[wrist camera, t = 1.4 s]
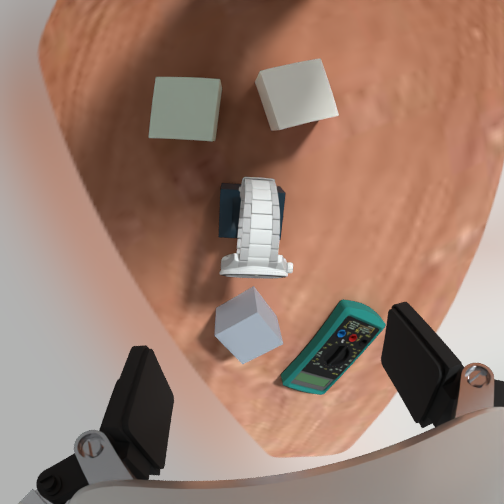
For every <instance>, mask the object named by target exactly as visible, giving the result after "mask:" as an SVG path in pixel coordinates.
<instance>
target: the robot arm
mask: <svg viewBox="0 0 504 504" xmlns="http://www.w3.org/2000/svg"><path fill="white" fill-rule="evenodd" d="M381 362H382V365H383V367H384V369H385V371H386V372H387V374H388V376H389V377H390V379H391V381H392V383H393V384H394V386H395V388H396V389H397V391H398V393H399V394H400V396H401V398H402V400H403V401H404V403H405V405H406V407H407V408H408V410H409V412H410V414H411V416H412V417H413V419H414V421H415V422H416V423H419V424H420V425H421V427H422V428H424V427H426V426H428V425H430V424H432V423H433V425H434V426H435V428H433V429H431V430H428V431H426V432H424V433H421V434H419V435H417V436H414V437H412V438H409V439H407V440H404V441H402V442H400V443H397V444H394V445H391V446H389V447H386V448H383V449H380V450H377V451H374V452H371V453H368V454H365V455H362V456H359V457H355V458H352V459H348V460H345V461H341V462H337V463H333V464H329V465H326V466H321V467H317V468H312V469H307V470H302V471H297V472H292V473H285V474H279V475H272V476H265V477H256V478H247V479H236V480H219V481H160V480H148V479H149V475H160V469H163V468H164V466H165V458H166V451H167V444H168V437H169V430H170V423H171V416H172V409H173V403H174V396H173V393H172V391H171V389H170V387H169V385H168V382H167V380H166V378H165V376H164V374H163V372H162V370H161V367H160V365H159V363H158V361H157V358H156V356H155V354H154V351H153V350H152V349H149V348H148V347H147V346H133V347H132V348H131V350H130V353H129V355H128V358H127V361H126V363H125V366H124V368H123V371H122V373H121V376H120V379H119V380H117V382H116V384H115V387H114V390H113V393H112V395H111V398H110V401H109V404H108V407H107V410H106V412H105V415H104V418H103V421H102V424H101V427H100V430H99V431H97V430H89V431H87V432H84V433H82V434H81V435H80V436H79V437H78V438H77V439H76V441H75V444H74V452H75V453H74V454H73V455H71V456H69V457H68V458H66V459H64V460H62V461H61V462H59V463H57V464H55V465H53V466H52V467H50V468H48V469H46V470H44V471H43V472H42V473H41V474H40V475H39V477H38V479H37V490H36V491H35V490H33V489H32V490H31V491H30V492H29V493H28V494H27V495H26V496H25V497H24V498H23V499H22V500H21V501H20V502H19V504H504V381H499V380H494V374H493V372H492V371H491V369H490V368H489V367H487V366H486V365H484V364H481V363H471V364H469V365H467V366H465V368H464V366H463V365H462V363H461V361H460V360H459V359H458V358H457V357H456V356H455V354H454V353H453V352H452V351H451V350H450V349H449V347H448V346H447V345H446V344H445V343H444V342H443V341H442V339H441V338H440V337H439V336H438V335H437V334H436V333H435V332H434V331H433V329H432V328H431V327H430V326H429V325H428V324H427V323H426V322H425V321H424V320H423V318H422V317H421V316H420V315H419V314H418V313H417V312H416V311H415V310H414V309H413V308H412V307H411V306H410V305H409V304H408V303H407V302H402V303H398V304H395V305H393V306H392V309H390V310H389V312H388V319H387V326H386V333H385V339H384V345H383V351H382V356H381Z"/></svg>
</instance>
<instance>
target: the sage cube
mask: <svg viewBox="0 0 504 504" xmlns="http://www.w3.org/2000/svg"><path fill="white" fill-rule="evenodd" d="M221 94H222V86H221V81H220V79H211V78H193V77H156V80H155V86H154V94H153V101H152V110H151V118H150V128H149V138H166V139H186V140H201V141H215V140H216V132H217V124H218V116H219V108H220V101H221Z"/></svg>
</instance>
